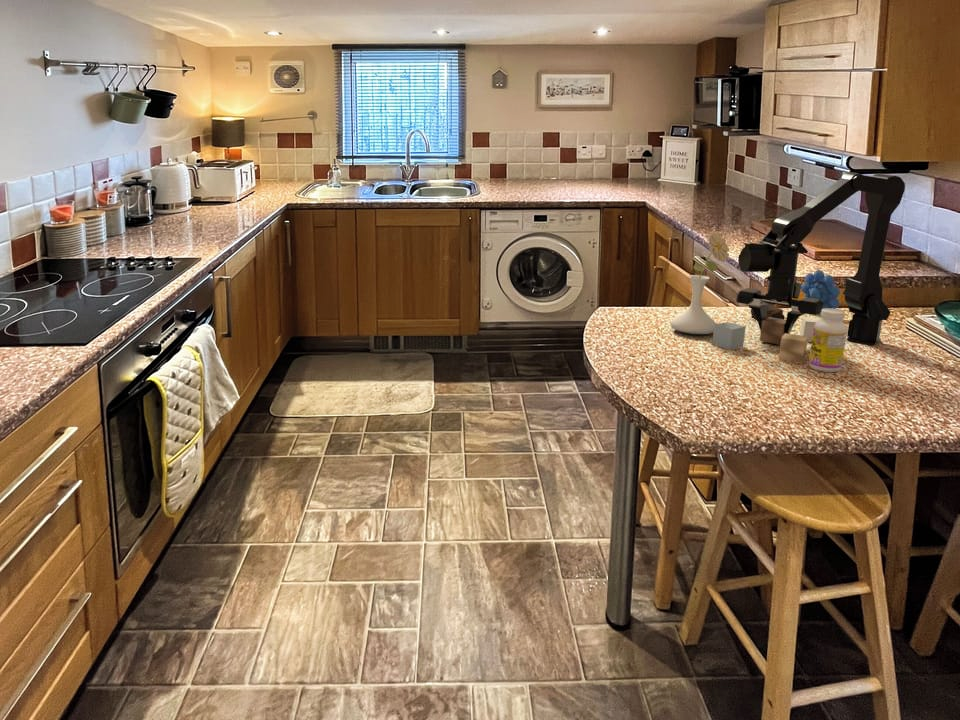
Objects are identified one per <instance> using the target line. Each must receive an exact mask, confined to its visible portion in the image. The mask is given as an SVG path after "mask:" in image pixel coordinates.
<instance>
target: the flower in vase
mask: <svg viewBox="0 0 960 720" xmlns="http://www.w3.org/2000/svg"><path fill="white" fill-rule="evenodd" d="M707 240H708V246H709V248H708V249H709V251H710V252H709V254H708V256H707V259H706V260H705V264H704V266H701V265H700V264H698V263H696V262H695V263H694V266H693V270H696V271H697V272H698V271H699V272H700V274H691V275H688V279H689V281H690V283H691V287H692V289H691V290H692V295H691V296H692V297H691V303H690V305H689V306H688V308H686V309H685V310H684V311H682V312H680V313H679V314H678V315H676V316H675V317H673V318H672V319H671V321H670V323H669V324H670V326H671V328H672V329H674V330H676V331H678V332H680V333H685V334H689V335H708V334H712V333H714V325H715V324H717V323H716V322H715V320H714V319H713V318H712V317H711V316H710V315H709V314H708V313H707V312H706V311H705V310H704V308H703V307H702V299H703V298H702V297H703V292H704V287H705V285H706V284H707V282H708V281H709V280H710V277H709V276H707V275H703V272H704V271H705V269H706V267H707V269H708V270H709V271H710V272H715V271H716V270H718V269H719V267H718V265H717V263H715V262H714V261H712V260H709V259H710V258H711V256H712V255H713V258H714V259H717V260H718V261H719V262H723V263H724V262H725V261H726V259H729V256H730V254H729V253H728V252H730V248H729V246H728V243H726V242H727V240H726V238H725V237H723V236H722V233H720V232H719V231H718V230H717V231H715V230H714V229H713V230H712V231H711V232H710V234H709V235H708V238H707Z"/></svg>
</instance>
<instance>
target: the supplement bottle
mask: <svg viewBox="0 0 960 720" xmlns="http://www.w3.org/2000/svg"><path fill="white" fill-rule="evenodd" d="M845 314H846V311H844V310H842V309H839V308H836V309H833V308H825V309H822V310H821V313H820V315H821V317H820V318H821V320H819V321H817V322H816V323H815V325H814V332H813V338H812V342H811V345H810V346H811V347H810V352H809V356H808V357H809V360H808V366H809V367H810V368H811V369H812V370H815V371H819V372H825V373H836V372H839V371H840V370H841V369H842V366H843V365H842V364H843V360H844V359H843V358H844V355H845V354H844V353H845V346H846V341H847V333H848V326H847V324H846V323H844V319H845V316H846V315H845Z"/></svg>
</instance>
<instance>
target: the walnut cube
mask: <svg viewBox="0 0 960 720" xmlns="http://www.w3.org/2000/svg"><path fill="white" fill-rule="evenodd" d="M785 324H786V319H778V318H773V317H769V318H766V319H764V320H762V326H761V331H760V336H759V341H760V342H763V343H768V344H774V345H779V346H780V344H781V338H782V337H783V335H784V330H785Z"/></svg>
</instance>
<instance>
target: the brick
mask: <svg viewBox="0 0 960 720" xmlns="http://www.w3.org/2000/svg"><path fill="white" fill-rule="evenodd" d="M766 304H769V303H766ZM750 314H751V315H750V317H751V319H752V318H754V319H755V320H754V319H753V320H754V321H756V320H757V318H756V316H755V314H754V311H753V309H752V308H750ZM769 317H773V318H778V319H784V320H786V317H785V314H784V310H783V309H782V308H779V307H778V306H777V305H774V304H769V306H768V309H767V317H766V318H769Z"/></svg>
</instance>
